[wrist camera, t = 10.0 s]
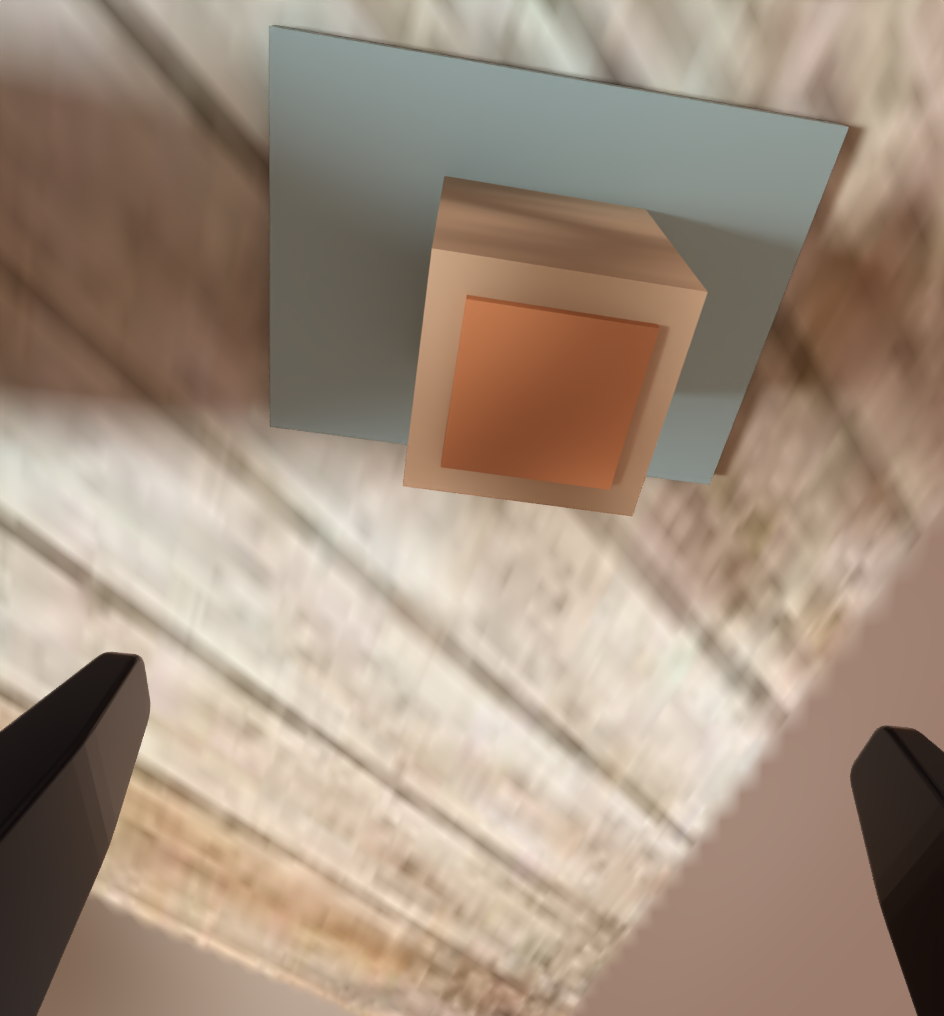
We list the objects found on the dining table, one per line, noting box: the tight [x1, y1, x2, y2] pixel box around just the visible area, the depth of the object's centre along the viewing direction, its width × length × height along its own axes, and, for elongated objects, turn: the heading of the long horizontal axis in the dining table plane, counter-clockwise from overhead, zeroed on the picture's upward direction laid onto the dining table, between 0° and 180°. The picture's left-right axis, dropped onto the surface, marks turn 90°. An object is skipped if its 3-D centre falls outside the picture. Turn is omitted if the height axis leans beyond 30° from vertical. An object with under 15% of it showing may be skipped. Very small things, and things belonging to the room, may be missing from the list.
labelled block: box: [403, 176, 708, 516], centre depth 16 cm, size 4×4×6 cm
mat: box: [269, 25, 849, 485], centre depth 18 cm, size 12×9×1 cm
